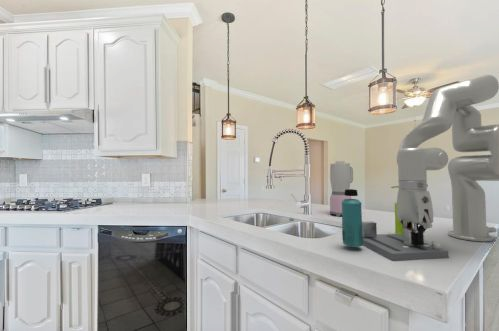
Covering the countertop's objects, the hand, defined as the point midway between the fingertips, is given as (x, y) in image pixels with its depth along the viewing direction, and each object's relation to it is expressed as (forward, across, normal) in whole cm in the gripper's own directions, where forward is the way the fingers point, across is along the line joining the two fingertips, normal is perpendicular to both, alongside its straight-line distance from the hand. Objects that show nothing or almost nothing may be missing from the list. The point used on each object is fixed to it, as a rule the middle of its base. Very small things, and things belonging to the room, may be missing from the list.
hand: (413, 242), depth 75 cm
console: (+3, +4, +3) cm, 6 cm away
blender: (+3, +64, -10) cm, 65 cm away
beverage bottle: (+3, +6, +18) cm, 19 cm away
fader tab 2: (0, 0, 0) cm, 0 cm away
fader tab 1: (0, +11, +9) cm, 14 cm away
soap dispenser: (+3, +17, -10) cm, 20 cm away
